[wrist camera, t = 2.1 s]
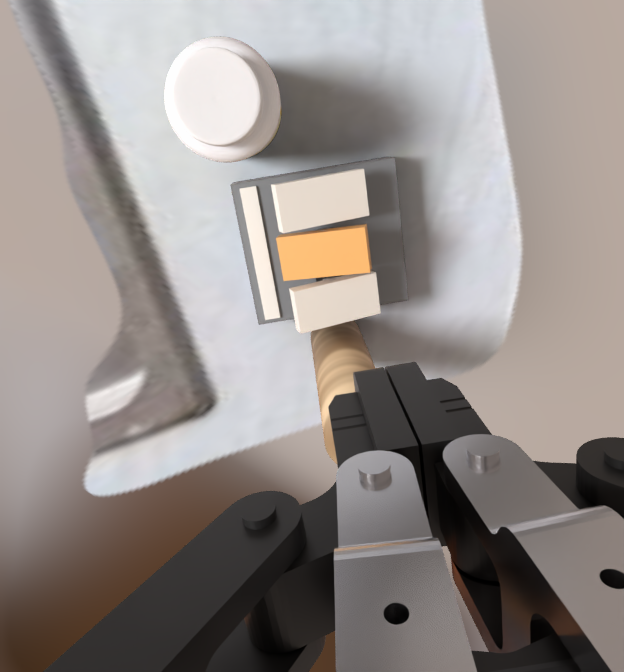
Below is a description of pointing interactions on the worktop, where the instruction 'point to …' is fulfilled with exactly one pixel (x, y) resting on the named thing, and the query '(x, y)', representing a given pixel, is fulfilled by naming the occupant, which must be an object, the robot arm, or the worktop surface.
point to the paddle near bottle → (320, 200)
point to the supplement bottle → (222, 99)
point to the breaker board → (263, 229)
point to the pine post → (337, 368)
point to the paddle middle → (324, 252)
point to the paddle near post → (334, 301)
